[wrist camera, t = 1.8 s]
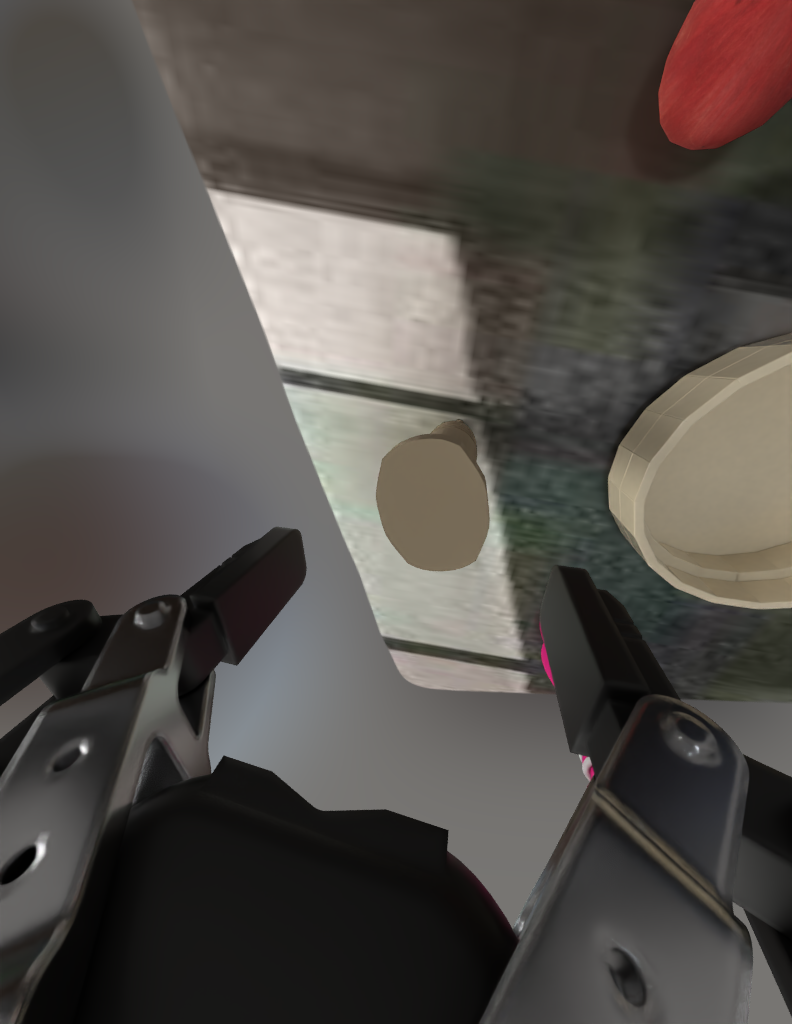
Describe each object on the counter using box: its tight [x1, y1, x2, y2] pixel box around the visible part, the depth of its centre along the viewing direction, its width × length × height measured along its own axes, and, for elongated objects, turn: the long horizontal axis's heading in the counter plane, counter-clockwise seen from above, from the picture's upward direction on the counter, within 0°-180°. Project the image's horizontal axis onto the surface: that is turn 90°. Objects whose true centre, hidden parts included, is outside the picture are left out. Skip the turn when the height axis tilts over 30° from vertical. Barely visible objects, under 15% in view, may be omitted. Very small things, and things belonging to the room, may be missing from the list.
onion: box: [658, 0, 792, 150], centre depth 12 cm, size 6×6×8 cm
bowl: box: [608, 333, 792, 609], centre depth 20 cm, size 17×17×6 cm
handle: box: [376, 419, 489, 571], centre depth 20 cm, size 5×6×15 cm
